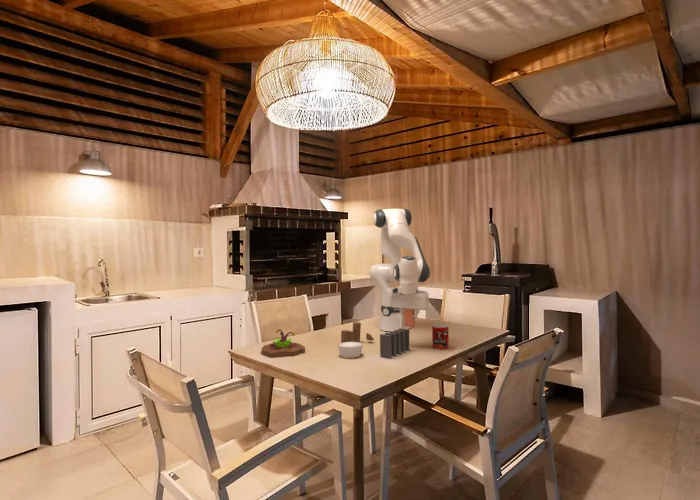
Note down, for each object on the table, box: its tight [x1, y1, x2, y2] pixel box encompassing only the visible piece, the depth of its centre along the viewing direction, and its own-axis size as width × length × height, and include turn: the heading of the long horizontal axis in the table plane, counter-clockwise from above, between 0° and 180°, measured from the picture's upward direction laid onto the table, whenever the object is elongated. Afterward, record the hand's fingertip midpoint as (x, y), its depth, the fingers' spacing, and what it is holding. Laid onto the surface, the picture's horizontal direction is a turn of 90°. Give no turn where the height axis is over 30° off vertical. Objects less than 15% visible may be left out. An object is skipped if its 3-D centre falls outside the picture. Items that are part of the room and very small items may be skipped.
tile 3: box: [389, 331, 402, 356], centre depth 191 cm, size 2×5×10 cm, turn 52°
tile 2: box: [394, 330, 406, 354], centre depth 194 cm, size 2×5×10 cm, turn 52°
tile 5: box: [379, 333, 393, 359], centre depth 184 cm, size 2×5×10 cm, turn 52°
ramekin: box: [337, 342, 363, 359], centre depth 188 cm, size 11×11×5 cm
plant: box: [261, 328, 306, 359], centre depth 198 cm, size 20×20×11 cm
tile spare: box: [403, 309, 416, 328], centre depth 201 cm, size 2×5×10 cm, turn 52°
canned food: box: [431, 323, 450, 350], centre depth 201 cm, size 8×8×11 cm
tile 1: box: [399, 328, 411, 352], centre depth 197 cm, size 2×5×10 cm, turn 52°
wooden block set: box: [340, 321, 375, 343], centre depth 212 cm, size 18×9×10 cm, turn 127°
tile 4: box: [384, 332, 397, 357], centre depth 187 cm, size 2×5×10 cm, turn 52°
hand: (409, 318), depth 201 cm, fingers closed on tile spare, 5 cm apart
